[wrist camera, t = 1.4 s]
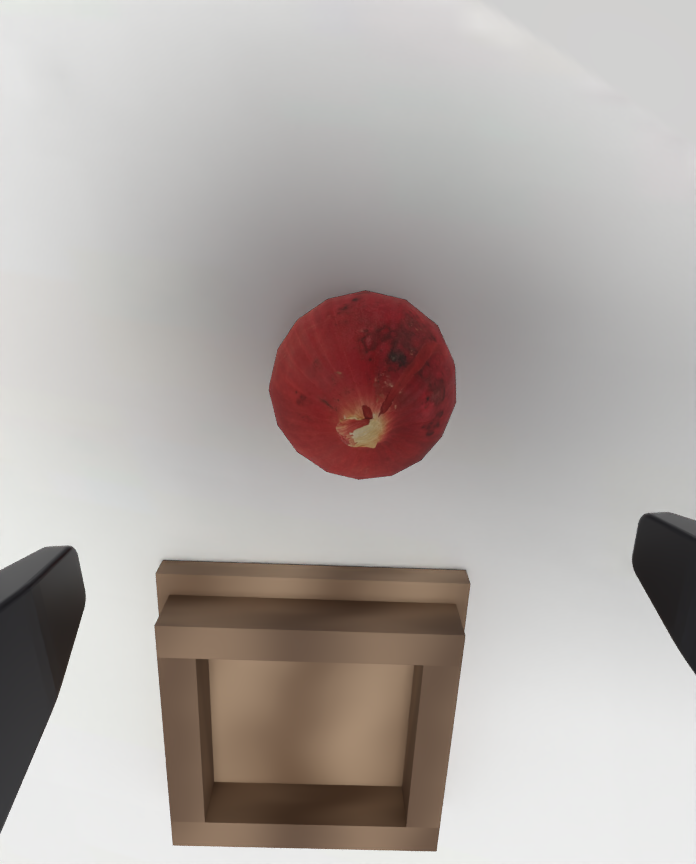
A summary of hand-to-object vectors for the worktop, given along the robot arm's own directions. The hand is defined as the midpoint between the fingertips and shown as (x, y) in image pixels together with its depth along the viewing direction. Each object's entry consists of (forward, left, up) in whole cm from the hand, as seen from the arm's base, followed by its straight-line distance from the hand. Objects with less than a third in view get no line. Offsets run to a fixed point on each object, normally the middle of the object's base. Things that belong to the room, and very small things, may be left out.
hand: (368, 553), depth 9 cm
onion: (0, 0, -14) cm, 14 cm away
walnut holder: (+1, +16, -14) cm, 21 cm away
